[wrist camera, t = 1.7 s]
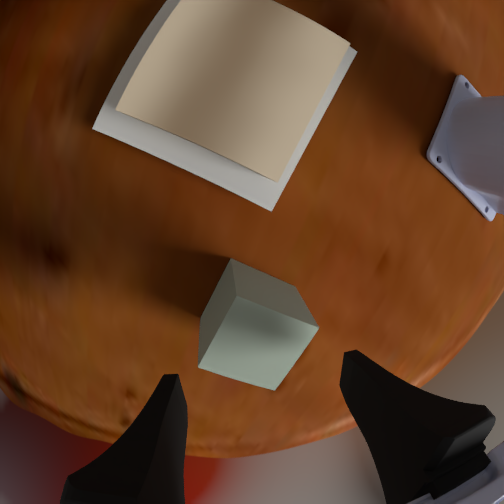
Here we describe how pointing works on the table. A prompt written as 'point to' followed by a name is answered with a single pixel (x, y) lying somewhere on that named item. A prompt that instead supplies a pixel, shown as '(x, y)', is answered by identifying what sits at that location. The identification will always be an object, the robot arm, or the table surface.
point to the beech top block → (235, 79)
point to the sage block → (253, 327)
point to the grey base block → (195, 155)
